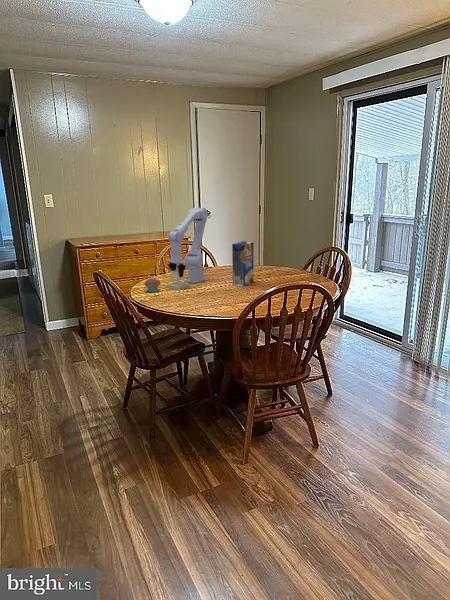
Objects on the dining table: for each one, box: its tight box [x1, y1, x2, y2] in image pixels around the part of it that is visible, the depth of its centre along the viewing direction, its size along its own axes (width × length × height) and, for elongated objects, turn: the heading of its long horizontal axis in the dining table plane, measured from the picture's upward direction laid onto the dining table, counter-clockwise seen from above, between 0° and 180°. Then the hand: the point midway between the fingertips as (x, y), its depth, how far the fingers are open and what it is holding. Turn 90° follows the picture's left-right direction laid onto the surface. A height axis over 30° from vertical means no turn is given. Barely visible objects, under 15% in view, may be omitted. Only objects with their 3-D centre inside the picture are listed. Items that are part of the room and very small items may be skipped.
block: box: [170, 269, 185, 282], centre depth 232 cm, size 5×5×5 cm
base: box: [166, 280, 190, 291], centre depth 234 cm, size 9×9×2 cm
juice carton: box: [231, 240, 255, 287], centre depth 236 cm, size 12×8×24 cm, turn 149°
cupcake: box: [144, 270, 161, 293], centre depth 226 cm, size 9×8×12 cm
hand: (177, 276), depth 232 cm, fingers closed on block, 5 cm apart
